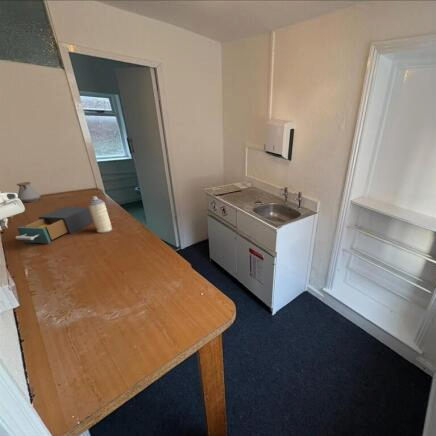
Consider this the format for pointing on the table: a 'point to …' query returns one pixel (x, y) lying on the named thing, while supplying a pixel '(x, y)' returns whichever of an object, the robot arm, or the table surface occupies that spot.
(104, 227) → the aerosol can
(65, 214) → the cabinet
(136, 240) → the table surface
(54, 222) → the drawer
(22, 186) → the coffee pot
